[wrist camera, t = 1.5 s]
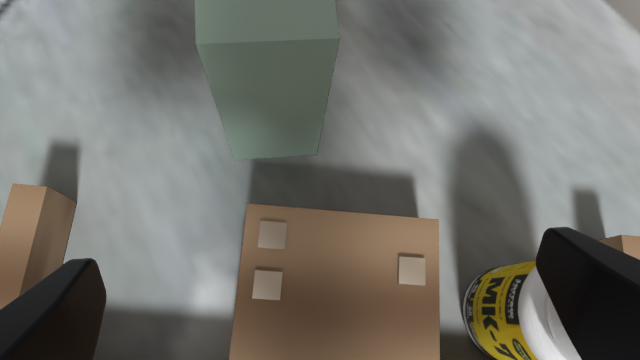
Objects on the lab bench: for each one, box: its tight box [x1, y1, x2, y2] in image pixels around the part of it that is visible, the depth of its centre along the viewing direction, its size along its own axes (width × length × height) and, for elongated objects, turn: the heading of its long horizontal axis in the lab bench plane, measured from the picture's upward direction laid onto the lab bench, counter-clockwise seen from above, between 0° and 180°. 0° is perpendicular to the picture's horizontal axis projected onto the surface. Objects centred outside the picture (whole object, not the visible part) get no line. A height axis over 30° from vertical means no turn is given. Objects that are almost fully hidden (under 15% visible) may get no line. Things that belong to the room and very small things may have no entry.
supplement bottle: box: [463, 260, 582, 360], centre depth 19 cm, size 5×5×8 cm
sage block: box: [195, 0, 340, 160], centre depth 20 cm, size 4×4×11 cm
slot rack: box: [0, 184, 640, 360], centre depth 21 cm, size 10×30×3 cm, turn 86°
